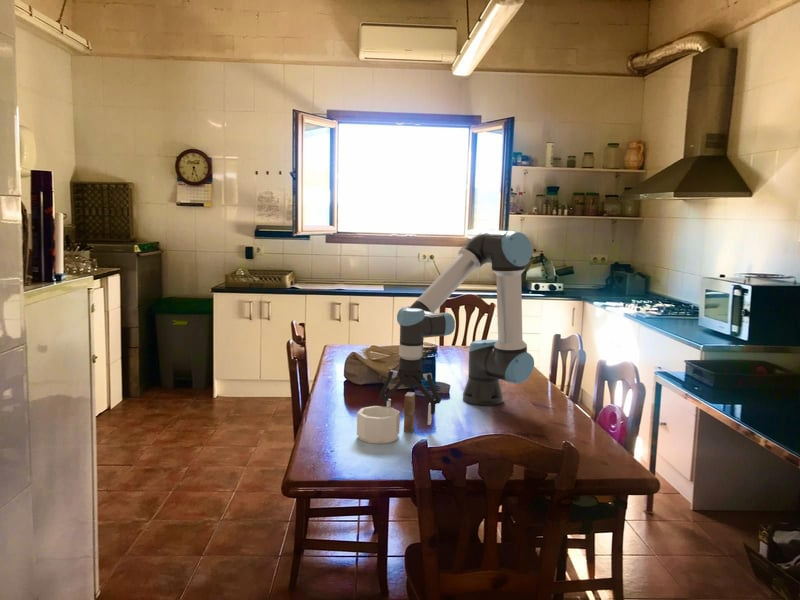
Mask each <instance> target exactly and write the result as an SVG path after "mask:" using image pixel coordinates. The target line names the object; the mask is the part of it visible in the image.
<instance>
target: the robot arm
mask: <svg viewBox="0 0 800 600" xmlns="http://www.w3.org/2000/svg"><path fill="white" fill-rule="evenodd" d="M457 253H458V256H456V257H455V259H454V260H453V261H452V262H451V263H450V264H449V265H448V266H447V267H446V268H444V269H445V270H443V272H441V274H440V275H439V276H438V277H437V278H436V279H435V280H434V281H433V282H432V283H431V284H430V285H429V286H428V287H427V288H426V289H425V291H424V292H423V293H422V294H420V296H419V297H418V298H417V299H416V300H415V301H414V302H413V303H412V304H411V305H410V306H409V305H408V306H403V307H401V308H400V309H399V310H398V312H397V314H396V321H397V324H398V325H399V349H398V350H399V353H398V354H399V357H398V358H399V359H398V371H397V370H395V369H390V370H389V371H388V375H387V376H388V377H387V379H386V381H385V383H384V384H383V386H382V389H381V390H380V392H379V393H378V396H377V397H378V398H379V399H381V400H383V407H391V405H392V399H391V398H390V397H392V395H393V394H394V393H395V392H396V391H398V389H399V388H400V387H401V386H402V385H403V386H404V387H413V388H415V387H416V388H418V389H419V391H420V392H421V393H422V395H424V397H425V398H426V399H427V401H428V402H429V403H428V406H427V408H428V409H427V425H428V426H431V424H432V416H433V415H434V414H435V413H436V405H437V404H440V403H441V401H442V397H441V395H440V393H439V392H438V389H437V387H436V384H435V381H434V380H433V373H432V372H428V373H423V364H424V363H423V361H424V360H423V356H424V340H425V339H426V338H436V337H437V338H438V337H445V336H450V335H451V334H453V332H454V331H455V328H456V325H455V324H456V322H455V321H456V320H455V318H454V316H453V315H452V314H451V313H449V312H437V310H438V309H439V308H441V306H442V305H443V304H444V303H445V302H446V301H447V299H449V298H450V297H451V295H452V294H453V293H454V292H455V291H456V290H457V289H458V288H459V287H460V285H462V283H464V281H466V280H467V278H468V277H469V276H470V275H471V274H472V273H473V271H477V270H479V269H480V268H481V267H482V266H484V265H485V264H488V263H491V271H492V272H493V273H494V274H495V275H496V304H497V305H496V310H497V311H496V313H497V339H479V340H474V341H472V342H470V344H469V350H468V376H467V377H468V378H467V382H466V385H465V387H464V390H463V393H462V400H463V402H465V403H468V404H470V405H475V406H476V405H477V406H483V407H484V406H497V405H501V404H503V402H504V394H503V391H502V387H501V383H500V380H502V381H505V382H507V383H509V384H523V383H524V382H526V381H527V380H528V379H529V378H530V376H531V375H532V373H533V371H534V367H535V359H534V357H533V356H532V354H531V353H529V352H528V345H527V342H525V341H524V340H523V303H522V302H523V300H522V299H523V298H522V274H523V273H524V272H525V271H526V265H528V263H529V262H530V261H531V259H532V256H533V245H532V242H531V239H530V238H529V237H528V236H527V235H526V234H525V233H523V232H520V231H516V230H501V229H500V230H499V229H498V230H496V229H487V230H484V231H482V232H480V233H478V234H477V235H475V236H474V237H472V238H471V239H469V241H467V242H466V243H465V244H464V245H463V246H462V247H461V248H460V250H458V252H457ZM424 338H425V339H424ZM396 376H397V377H398V379H399V380H398V382H397V383H396V384H395V385H394V386H393V387H392V388H391V390H389V392H387V394H386V391H387V389H388V387H389V386H390V384H391V382H392V381H393V379H394V378H395V377H396ZM422 379H424V380H425V381H427V384H428V386H429V389H430V391H431V393H432V394H431V393H430V391H429V390H428V389H427V387H426V385H424V383H423V381H422Z"/></svg>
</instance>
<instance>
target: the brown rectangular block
mask: <svg viewBox="0 0 800 600" xmlns="http://www.w3.org/2000/svg"><path fill="white" fill-rule="evenodd" d="M415 400H416V392H412V391H408V392H406V394H404V404H403V405H404V407H403V408H404V410H403V412H404V413H403V433H410V434H411V433H412V432H414V429H415V412H416V411H415V409H416V401H415Z"/></svg>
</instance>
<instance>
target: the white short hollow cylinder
mask: <svg viewBox="0 0 800 600" xmlns="http://www.w3.org/2000/svg"><path fill="white" fill-rule="evenodd" d="M400 416H401V411H400V410H398V409H395V408H394V407H384V405H383V406H382V405H372V406H366V407H361V408H360V409H359V411H357V412H356V436H357V437H358V439H359V440H360V441H361V442H364V443H367V444H373V445H383V444H385V445H386V444H391V443H394V442H395V441H397V440H398V438H399V434H400V425H401V424H400V423H401V420H400V419H401V417H400Z"/></svg>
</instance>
